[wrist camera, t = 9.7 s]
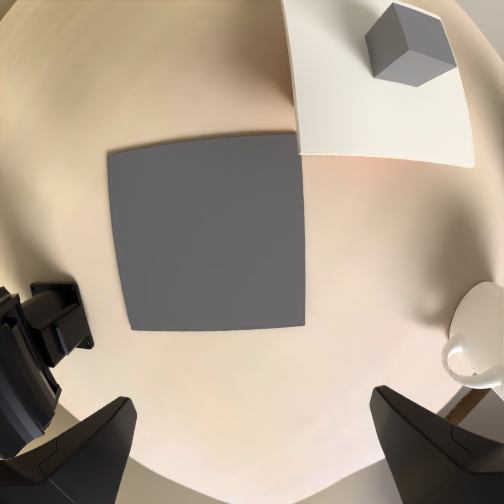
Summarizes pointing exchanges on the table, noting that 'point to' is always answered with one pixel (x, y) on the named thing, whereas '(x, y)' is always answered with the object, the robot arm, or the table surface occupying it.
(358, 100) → the lid
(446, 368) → the mug
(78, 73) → the table surface
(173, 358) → the table surface
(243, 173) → the mat
